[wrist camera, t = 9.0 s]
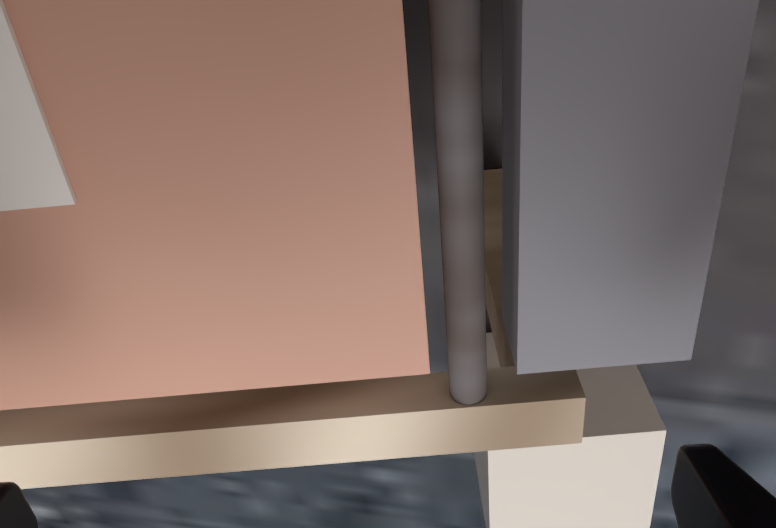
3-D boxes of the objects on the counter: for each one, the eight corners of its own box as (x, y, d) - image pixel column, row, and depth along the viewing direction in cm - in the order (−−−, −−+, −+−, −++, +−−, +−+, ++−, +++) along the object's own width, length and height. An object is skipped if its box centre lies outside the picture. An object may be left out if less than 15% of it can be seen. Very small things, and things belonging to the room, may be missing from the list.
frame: (503, -521, 13) (704, -952, 5) (503, 204, 22) (582, 443, 14) (-226, -436, 14) (-1021, -729, 6) (52, 245, 22) (-118, 500, 14)
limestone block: (615, 319, 24) (666, 430, 20) (604, 424, 27) (647, 540, 23) (467, 333, 25) (487, 445, 20) (471, 435, 27) (490, 553, 23)
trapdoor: (782, -517, 8) (869, -578, 6) (659, 304, 14) (690, 359, 13) (-440, -377, 8) (-597, -407, 7) (-35, 364, 14) (-76, 424, 13)
